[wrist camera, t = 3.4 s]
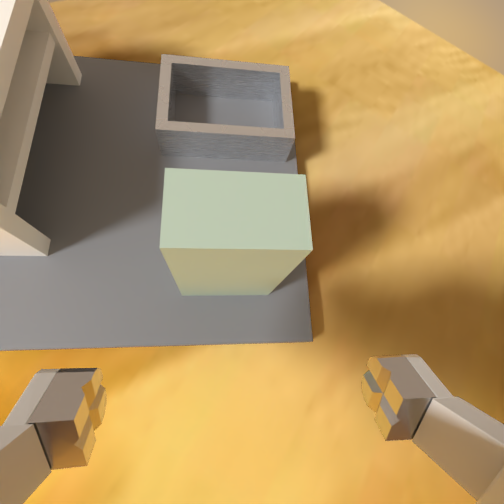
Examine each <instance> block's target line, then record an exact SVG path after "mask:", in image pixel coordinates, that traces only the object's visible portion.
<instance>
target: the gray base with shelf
mask: <svg viewBox="0 0 504 504" xmlns="http://www.w3.org/2000/svg"><path fill="white" fill-rule="evenodd" d="M160 66H161V64H155V63H144V62H133V61H122V60H112V59H101V58H90V57H79V56H73V54H72V52H71V50H70V47H69V45H68V43H67V41H66V39H65V37H64V34H63V32H62V30H61V28H60V26H59V23H58V21H57V19H56V17H55V15H54V12H53V10H52V8H51V6H50V4H49V2H48V0H0V351H12V350H47V349H82V348H117V347H152V346H187V345H222V344H257V343H292V342H312V341H313V338H312V327H311V316H310V304H309V293H308V282H307V271H306V260H305V258H304V260H303V261H302V262H301V263H300V264H299V265H298V266H297V267H296V268H295V269H294V270H293V271H292V272H291V273H290V274H289V275H288V276H287V277H286V278H285V279H284V280H283V281H282V282H281V283H280V284H279V285H278V286H277V287H276V288H275V289H274V290H273V291H272V292H271V293H270V294H269V295H211V296H182V295H181V292H180V290H179V288H178V286H177V284H176V282H175V280H174V278H173V276H172V273H171V271H170V269H169V267H168V265H167V263H166V261H165V259H164V257H163V254H162V252H161V250H160V248H159V247H160V232H161V218H162V203H163V189H164V174H165V168H179V169H199V170H220V171H241V172H261V173H282V174H298V171H297V160H296V149H295V140H294V143H293V145H292V148H291V150H290V153H289V155H288V158H287V160H286V162H272V161H253V160H235V159H216V158H197V157H179V156H162V155H161V151H160V147H159V143H158V139H157V135H156V131H155V125H156V114H157V102H158V90H159V78H160ZM174 121H178V122H192V123H207V124H221V125H236V126H251V127H265V128H274V118H273V102H268V101H255V100H243V99H231V98H218V97H206V96H193V95H181V94H176V97H175V114H174Z"/></svg>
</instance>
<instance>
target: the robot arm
mask: <svg viewBox="0 0 504 504" xmlns="http://www.w3.org/2000/svg"><path fill="white" fill-rule="evenodd" d="M367 367H368V368H369V371H368V372H366V373H365V374H364V375H363V378H362V382H361V386H362V394H363V397H364V400H365V402H366V404H367V406H368V407H369V408H371V409H372V410H373V411H374V412H376V414H375V421H376V423H377V425H378V427H379V429H380V431H381V433H382V435H383V437H384V439H385V441H390V440H410V439H413V440H412V441H413V442H414V443H415V444H416V445H417V446H418V447H419V448H420V449H421V450H422V451H424V452H425V453H426V454H427V455H428V456H429V457H430V458H431V459H432V460H433V461H434V462H435V463H437V464H438V465H439V466H440V467H441V468H442V469H443V470H444V471H445V472H446V473H447V474H449V475H450V476H451V477H452V478H453V479H454V480H455V481H456V482H457V483H458V484H459V485H461V486H462V487H463V488H464V489H465V490H466V491H467V492H468V493H469V494H470V495H471V496H472V497H474V498H475V499H476V500H477V502H476V504H504V424H502V423H501V422H499V421H497V420H496V419H494V418H492V417H491V416H489V415H487V414H486V413H484V412H483V411H481V410H479V409H478V408H476V407H474V406H473V405H471V404H469V403H468V402H466V401H465V400H463V399H461V398H460V397H453V395H452V394H451V393H450V392H449V391H448V389H447V388H446V387H445V386H444V385H443V383H442V382H441V381H440V380H439V378H438V377H437V376H436V375H435V374H434V372H433V371H432V370H431V369H430V367H429V366H428V365H427V364H426V363H425V361H424V360H423V359H422V358H421V357H420V356H419V355H417V354H407V355H386V356H372V357H370V358H369V360H368V363H367ZM102 378H103V375H102V371H101V369H100V368H70V369H41V370H40V371H38V372H37V373H36V374H35V375H34V377H33V378H32V380H31V381H30V383H29V385H28V386H27V388H26V389H25V391H24V392H23V394H22V395H21V397H20V399H19V400H18V402H17V403H16V405H15V406H14V408H13V409H12V411H11V413H10V414H9V416H8V417H7V419H6V420H5V422H4V423H3V425H2V426H0V504H23V503H24V502H25V501H26V500H27V499H28V497H29V496H30V495H31V494H32V493H33V492H34V491H35V490H36V489H37V487H38V486H39V485H40V484H41V483H42V482H43V481H44V480H45V479H46V477H47V476H48V475H49V474H50V473H51V470H54V469H63V468H72V467H81V466H87V465H88V462H89V459H90V456H91V453H92V450H93V447H94V444H95V441H96V438H95V433H94V430H95V429H97V428H98V427H99V426H100V425H101V424H102V420H103V417H104V414H105V408H106V390H105V388H104V387H103V386H102V385H100V384H101V381H102Z"/></svg>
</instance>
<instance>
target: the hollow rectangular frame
mask: <svg viewBox="0 0 504 504" xmlns="http://www.w3.org/2000/svg"><path fill="white" fill-rule="evenodd" d="M176 94H181V95H193V96H206V97H218V98H231V99H243V100H255V101H268V102H273V118H274V128H265V127H251V126H236V125H221V124H207V123H192V122H178V121H174V114H175V97H176ZM155 131H156V135H157V139H158V143H159V147H160V151H161V155H162V156H179V157H197V158H216V159H235V160H253V161H272V162H286V160H287V158H288V155H289V153H290V150H291V148H292V145H293V143H294V140H295V130H294V119H293V108H292V97H291V86H290V75H289V66H280V65H270V64H260V63H250V62H239V61H229V60H219V59H209V58H198V57H188V56H178V55H167V54H162V55H161V66H160V78H159V90H158V102H157V114H156V125H155Z"/></svg>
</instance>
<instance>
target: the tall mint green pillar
mask: <svg viewBox="0 0 504 504" xmlns="http://www.w3.org/2000/svg"><path fill="white" fill-rule="evenodd" d="M159 248H160V250H161V252H162V254H163V257H164V259H165V261H166V263H167V265H168V267H169V269H170V271H171V273H172V276H173V278H174V280H175V282H176V284H177V286H178V288H179V290H180V292H181V295H182V296H211V295H269V294H270V293H271V292H272V291H273V290H274V289H275V288H276V287H277V286H278V285H279V284H280V283H281V282H282V281H283V280H284V279H285V278H286V277H287V276H288V275H289V274H290V273H291V272H292V271H293V270H294V269H295V268H296V267H297V266H298V265H299V264H300V263H301V262H302V261H303V260H304V258H305V257H306V256H307V255H308V254H309V253H310V252H311V251H312V250H313V245H312V235H311V225H310V215H309V205H308V195H307V185H306V175H303V174H282V173H261V172H241V171H220V170H199V169H179V168H165V174H164V189H163V203H162V218H161V232H160V247H159Z"/></svg>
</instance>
